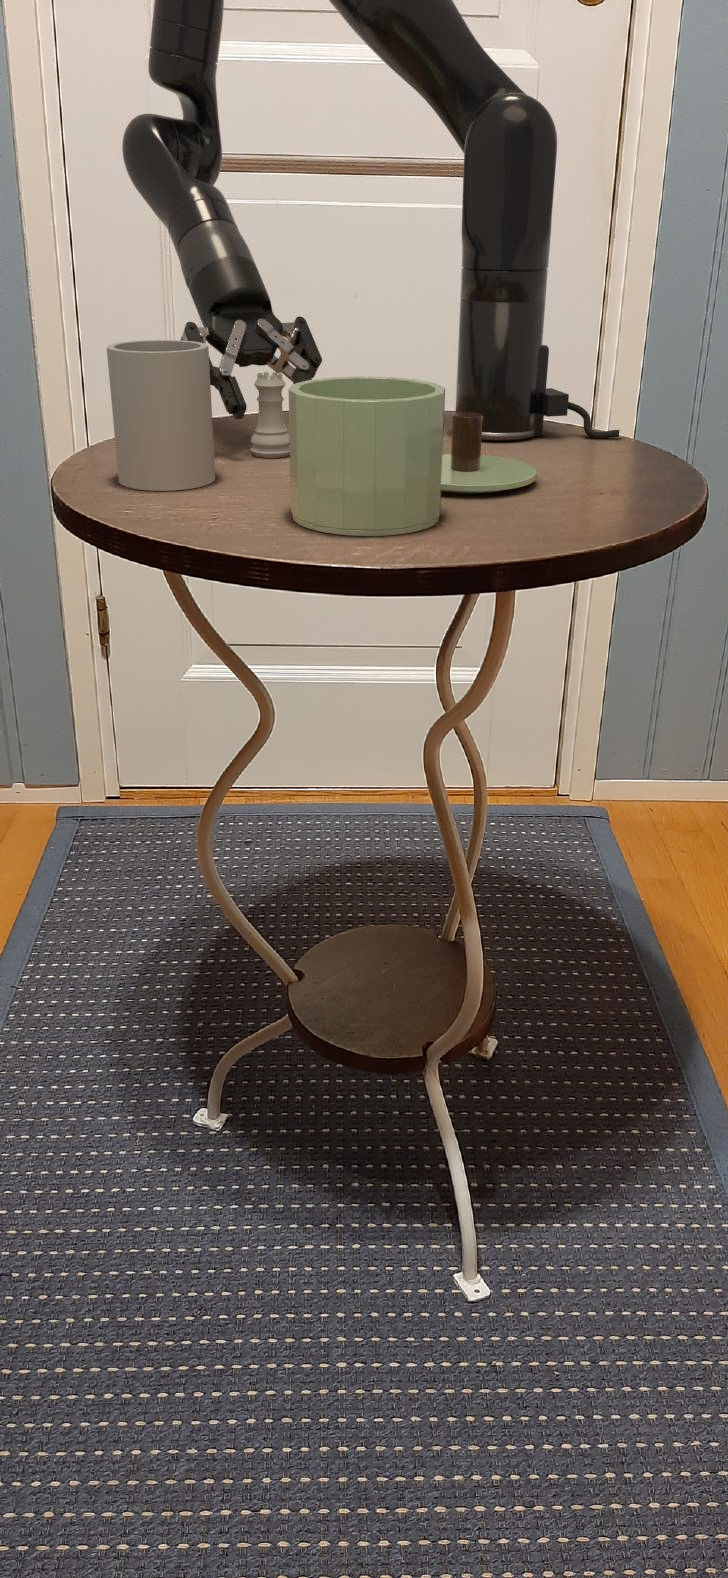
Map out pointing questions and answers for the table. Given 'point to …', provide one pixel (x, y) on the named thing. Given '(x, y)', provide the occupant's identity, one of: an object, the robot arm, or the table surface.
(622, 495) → the table surface
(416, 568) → the table surface
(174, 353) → the cup
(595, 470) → the table surface
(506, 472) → the jar lid
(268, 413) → the rook chess piece
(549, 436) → the table surface
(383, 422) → the jar
